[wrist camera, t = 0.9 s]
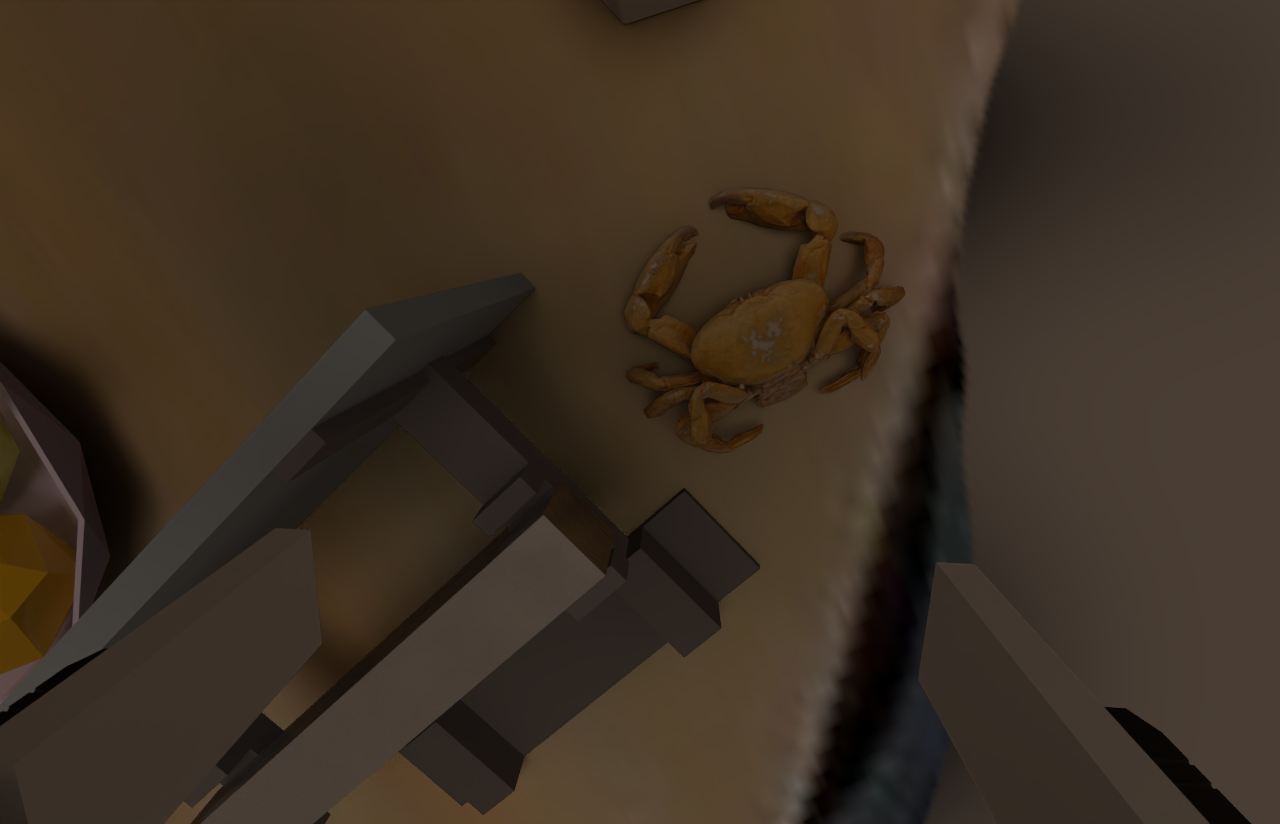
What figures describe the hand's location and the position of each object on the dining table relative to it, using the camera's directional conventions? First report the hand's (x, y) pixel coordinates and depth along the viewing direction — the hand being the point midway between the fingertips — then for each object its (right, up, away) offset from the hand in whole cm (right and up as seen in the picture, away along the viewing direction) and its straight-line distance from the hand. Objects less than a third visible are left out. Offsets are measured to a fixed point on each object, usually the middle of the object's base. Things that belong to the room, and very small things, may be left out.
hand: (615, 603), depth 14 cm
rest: (-4, -12, +31) cm, 34 cm away
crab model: (+7, +10, +25) cm, 28 cm away
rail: (-11, -9, +19) cm, 24 cm away
